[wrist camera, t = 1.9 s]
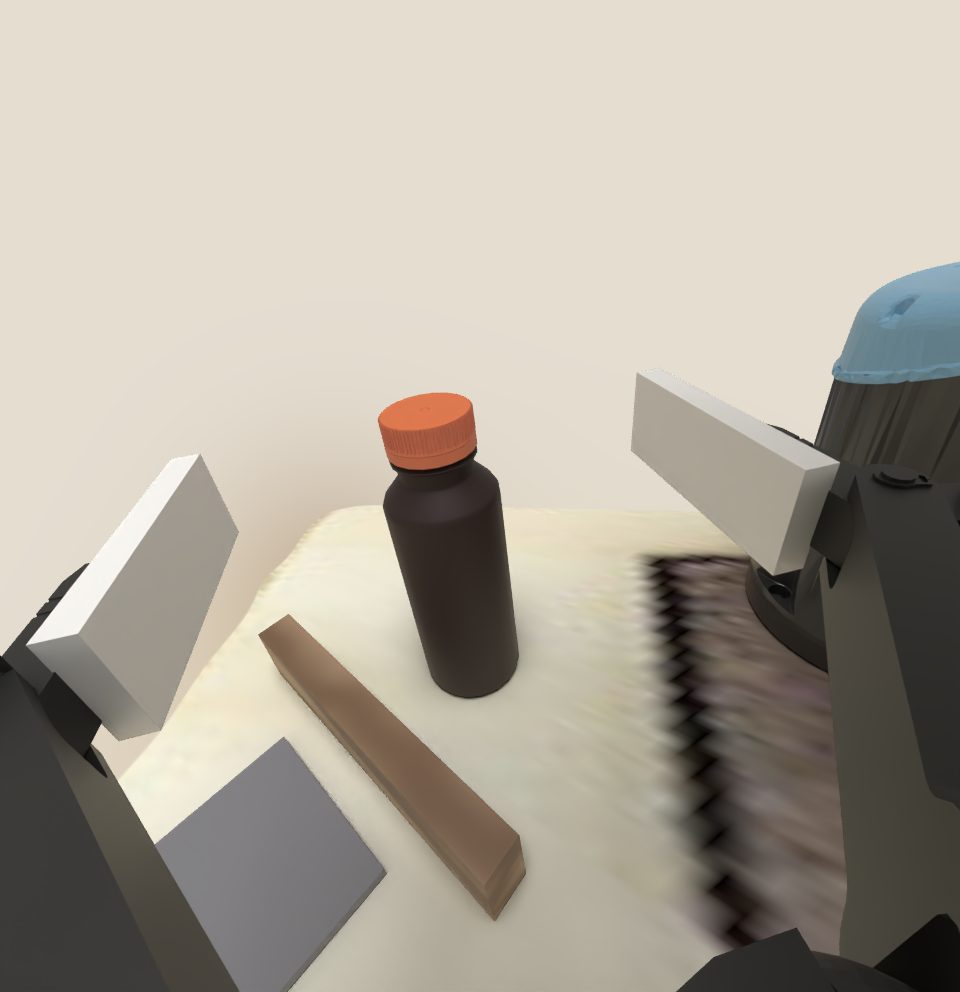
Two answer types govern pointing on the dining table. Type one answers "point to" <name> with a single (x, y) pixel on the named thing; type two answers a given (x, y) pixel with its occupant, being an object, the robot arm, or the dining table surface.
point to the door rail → (403, 768)
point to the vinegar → (450, 542)
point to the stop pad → (270, 870)
